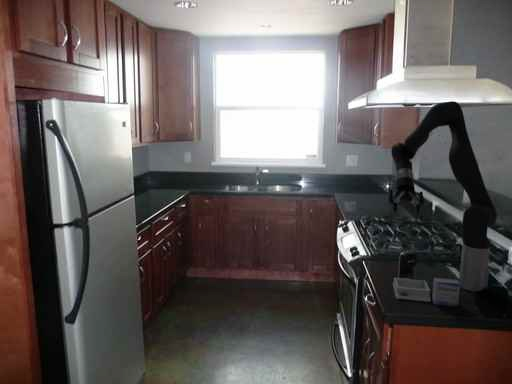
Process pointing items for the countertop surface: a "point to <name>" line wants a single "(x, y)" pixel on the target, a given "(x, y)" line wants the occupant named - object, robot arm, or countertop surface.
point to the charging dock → (411, 289)
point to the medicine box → (445, 292)
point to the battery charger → (406, 265)
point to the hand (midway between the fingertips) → (406, 212)
